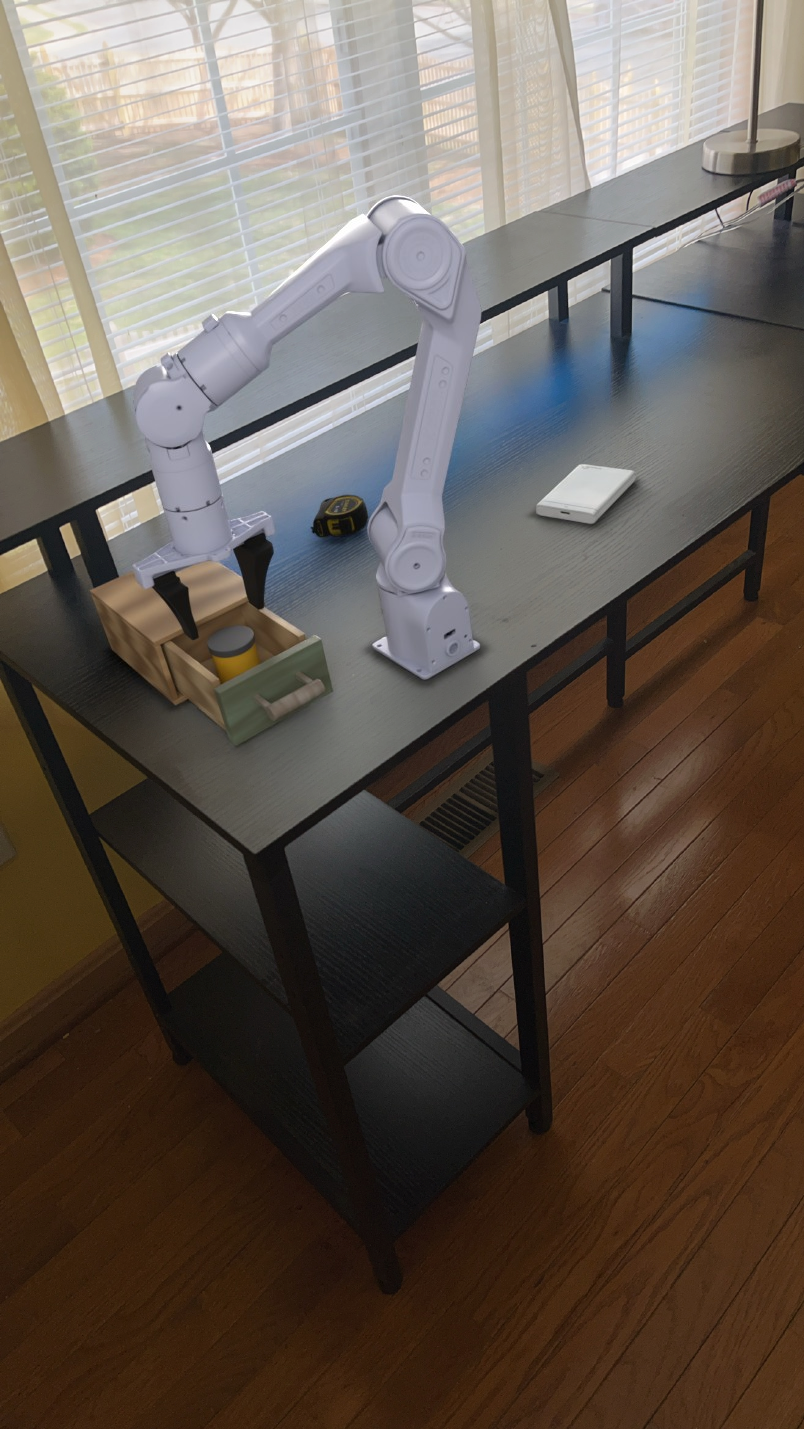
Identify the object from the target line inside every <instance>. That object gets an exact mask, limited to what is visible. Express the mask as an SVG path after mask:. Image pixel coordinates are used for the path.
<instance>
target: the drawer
mask: <svg viewBox="0 0 804 1429" xmlns="http://www.w3.org/2000/svg"><path fill="white" fill-rule="evenodd" d="M236 625H240V626H246V627H249V628H250V629H251V630H252V631H253V633H254V636H255V645H256V649H257V653H258V656H259V660H260V664H259V665H257V666H255V667H254V668H252V669H250V670H248V671H246V672H244V673H242V674H240V675H238V676H237V677H235V678H233V679H231V680H229V681H227V682H225V683H223V684H221V683H220V680H219V677H218V674H217V670H216V667H215V664H214V661H213V657H212V654H211V653H210V652H209V649H208V646H207V641H208V639H209V637H210V636H211V635H212V634H213V633H215V632H216V631H218V630H220V629H222V628H225V627H229V626H236ZM197 630H198V635H199V638H198V639H195V640H191V639H190V638H189V637H188V636H187V635H186V634H184V633H183V634H181V635H179V636H177V637H175V638H173V639H171V640H169V641H167V642H165V643H163V644H161V645H160V646H161V648H162V651H163V654H164V657H165V660H166V663H167V666H168V669H169V672H170V675H171V678H172V681H173V684H174V686H175V688H176V689H177V690H178V691H180V692H181V693H182V694H183V695H184V696H185V697H187V698H188V699H187V700H189V701H190V702H191V703H192V704H193V705H195V706H196V707H197V708H198V709H199V710H200V711H202V712H203V713H204V714H205V715H206V716H208V717H209V718H210V719H211V720H212V721H214V722H215V723H216V724H217V725H218V726H219V727H220V728H222V730H224V731H225V732H226V733H227V736H228V740H229V742H230V743H231V744H232V745H233V746H235V747H237V746H239V745H240V744H242V743H244V742H246V741H248V740H249V739H252V738H253V737H254V736H256V735H258V734H260V733H261V732H263V731H266V730H267V729H269V728H270V727H272V726H274V725H276V724H278V723H280V722H281V721H283V720H285V719H287V718H289V717H291V716H292V715H294V714H296V713H297V712H300V711H301V710H303V709H304V708H306V707H308V706H310V705H311V704H313V703H315V702H317V701H320V699H322V698H324V697H326V696H328V695H329V694H331V693H333V692H334V690H333V685H332V681H331V676H330V672H329V671H330V670H329V667H328V663H327V659H326V653H325V650H324V644H323V641H322V638H320V637H319V636H317V635H316V634H315V635H314V634H313V635H312V636H311V637H308V638H307V637H306V633H305V632H303V631H301V630H300V629H299V628H297V627H296V626H294V625H293V624H291V623H289V622H288V621H287V620H285V619H283V618H282V617H280V616H279V615H278V614H276V613H274V612H273V611H271V610H270V609H268V608H267V607H266V608H265V607H264V608H263V609H261V610H258V609H257V608H255V607H254V606H252V605H251V604H250V603H249V601H247V602H245V603H243V604H241V605H239V606H237V607H235V608H233V609H231V610H229V611H227V612H225V613H223V614H221V615H219V616H217V617H215V618H213V619H211V620H209V621H207V622H205V623H203V624H201V625H199V626H197Z"/></svg>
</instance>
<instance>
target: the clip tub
mask: <svg viewBox="0 0 804 1429" xmlns="http://www.w3.org/2000/svg"><path fill="white" fill-rule="evenodd" d="M207 646H208V649H209V652H210V653H211V654H212V657H213V661H214V664H215V667H216V670H217V674H218V677H219V680H220V683H221V684H223V683H225V682H227V681H229V680H231V679H233V678H235V677H237V676H238V675H240V674H242V673H244V672H246V671H248V670H250V669H252V668H254V667H255V666H257V665H259V664H260V660H259V656H258V653H257V649H256V645H255V636H254V633H253V631H252V630H251V629H250V628H249V627H246V626H240V625H236V626H229V627H225V628H222V629H220V630H218V631H216V632H215V633H213V634H212V635H211V636H210V637H209V639H208V641H207Z"/></svg>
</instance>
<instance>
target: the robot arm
mask: <svg viewBox="0 0 804 1429" xmlns="http://www.w3.org/2000/svg"><path fill="white" fill-rule="evenodd" d="M382 279H388V281H389V282H390V283H391V284H392V286H394V287H395V288H396V289H397V290H398V291H400V292H401V293H402V294H404V295H405V296H406V297H407V298H408V300H409V301H410V302H411V304H412V305H413V306H414V308H415V309H416V311H417V312H418V314H419V315H420V316H421V326H420V332H419V337H418V342H417V346H416V347H417V348H416V353H415V358H414V361H413V362H414V363H413V368H412V374H411V378H410V384H409V390H408V394H407V399H406V404H405V411H404V416H403V421H402V425H401V431H400V437H399V442H398V448H397V451H396V457H395V462H394V467H393V474H392V479H391V480H390V481H389V482H388V483H387V484H386V485H385V487H384V488H383V490H382V495H381V500H380V502H379V503H378V506H377V507H376V509H375V510H374V511H373V513H371V516H370V517H369V518H368V521H367V528H366V531H367V532H366V533H367V538H368V541H369V542H370V544H371V546H372V547H373V548H374V549H375V552H376V554H377V556H378V558H379V564H378V567H377V571H376V572H375V579H376V580H375V581H376V586H377V591H378V596H379V601H380V607H381V608H380V609H381V614H382V618H383V624H384V631H385V635H386V636H384V637H382V638H380V639H378V640H376V641H374V642H373V643H372V649H373V650H375V651H376V652H378V653H380V654H381V655H382V656H384V657H386V658H387V659H389V660H391V661H393V662H394V663H395V664H397V665H399V666H401V667H403V668H404V669H405V670H407V671H409V672H410V673H412V674H413V675H415V676H416V677H418V678H419V679H421V680H423V681H425V680H428V679H431V678H432V677H434V676H435V675H437V674H439V673H441V672H442V671H444V670H446V669H448V668H449V667H450V666H452V665H455V664H456V663H458V662H460V661H461V660H463V659H464V658H467V657H468V656H469V655H471V654H473V653H475V652H476V651H478V650H480V649H481V643H480V642H478V641H476V640H474V636H473V628H472V620H471V610H470V604H469V601H468V599H467V598H466V596H465V595H464V594H462V592H460V591H459V590H457V589H456V588H455V586H453V585H452V583H451V582H450V579H449V578H448V576H447V573H446V567H447V563H448V562H447V553H446V551H445V546H444V535H445V532H446V521H445V512H444V504H443V493H444V489H445V483H446V479H447V474H448V470H449V467H450V466H449V465H450V461H451V456H452V453H453V448H454V443H455V439H456V434H457V430H458V425H459V420H460V416H461V413H462V412H461V411H462V406H463V403H464V397H465V393H466V389H467V384H468V380H469V375H470V370H471V367H472V361H473V357H474V352H475V347H476V343H477V339H478V335H479V330H480V326H481V320H482V305H481V302H480V298H479V296H478V293H477V289H476V287H475V283H474V279H473V277H472V274H471V270H470V268H469V265H468V260H467V249H466V247H465V246H464V245H463V243H462V242H461V241H460V240H459V239H458V237H457V236H456V235H455V233H454V232H453V231H452V230H451V228H450V227H449V226H448V225H447V224H446V223H445V222H444V221H443V220H442V219H441V218H439V217H438V216H435V215H433V214H430V213H429V212H428V211H427V210H425V208H424V207H423V206H422V205H420V204H419V203H418V202H417V201H415V199H413V198H411V197H408V196H405V195H391V196H387V197H384V198H382V199H381V200H378V202H376V203H375V204H374V205H373V206H372V207H371V208H370V209H369V211H368V212H367V214H366V215H365V214H364V213H362V214H360V215H358V216H356V217H355V218H353V219H352V220H350V221H349V222H348V223H347V224H346V225H344V227H342V228H341V229H340V230H339V231H338V232H337V233H336V234H335V235H334V236H333V237H332V238H331V239H330V240H329V241H327V243H326V244H324V245H323V246H322V247H321V248H320V249H319V250H318V251H316V252H315V253H314V254H313V255H312V256H311V257H309V259H307V260H306V261H305V262H304V263H303V264H302V265H301V266H300V267H299V268H297V269H296V270H295V271H294V272H293V273H292V274H291V275H290V276H289V277H288V278H286V279H285V280H284V281H283V282H282V283H280V285H279V286H277V287H276V288H275V289H274V290H273V291H271V293H269V294H268V295H267V296H266V297H265V298H264V299H263V300H261V302H260V303H258V304H257V305H256V306H255V307H254V308H253V309H252V310H250V311H249V312H240V311H239V312H238V311H232V310H231V311H230V310H228V311H226V312H225V313H223V314H222V315H221V316H219V317H218V318H217V316H216V315H215V314H213V313H211V314H210V315H208V316H207V317H206V318H205V319H203V320H202V321H201V325H202V328H203V329H204V330H203V331H201V332H200V333H199V334H197V336H195V337H193V339H191V340H190V341H189V342H188V343H186V344H185V345H183V347H181V348H180V349H179V350H178V351H176V353H174V354H173V355H172V354H171V353H170V352H167V353H165V354H163V356H162V357H160V363H161V365H160V366H158V365H154V366H151V367H149V368H148V369H146V370H144V371H143V372H142V373H141V374H140V375H139V377H138V378H137V379H136V381H135V385H134V388H133V393H132V395H133V400H132V403H133V408H134V418H135V422H136V424H137V427H138V430H139V431H140V433H141V434H142V435H143V436H144V437H145V438H144V443H145V448H146V450H147V452H148V453H149V464H150V468H151V471H152V475H153V478H154V481H155V482H154V483H155V485H156V490H157V493H158V496H159V499H160V503H161V506H162V509H163V510H162V511H163V513H164V516H165V520H166V523H167V524H166V525H167V526H168V530H169V533H170V537H171V541H170V542H169V543H166V544H165V545H163V546H162V547H161V548H159V549H158V550H156V551H155V552H153V553H152V554H150V555H148V556H147V557H145V558H143V559H142V560H140V561H138V562H135V563H133V564H131V568H132V571H134V575H135V578H136V581H137V583H138V584H139V585H141V586H142V587H143V588H144V589H147V588H150V587H152V588H153V589H154V590H155V591H156V592H157V593H158V595H159V596H160V597H161V598H162V599H163V600H164V602H165V603H166V604H167V605H168V607H169V608H170V609H171V611H172V612H173V614H174V615H175V617H176V618H177V620H178V622H179V623H180V625H181V627H182V629H183V631H184V634H186V635H187V636H188V637H189V638H190V639H191V640H195V639H198V638H199V635H198V630H197V627H196V624H195V621H194V618H193V615H192V611H191V606H190V600H189V588H188V587H187V586H186V585H184V584H183V583H182V582H181V580H180V577H178V576H176V572H179V571H181V570H183V569H186V568H188V567H190V566H193V565H195V564H198V563H202V562H206V561H212V562H219V563H220V562H221V561H224V560H226V559H229V558H230V557H232V555H233V554H232V551H233V553H234V556H235V559H236V562H237V565H238V567H239V570H240V573H241V577H242V578H243V582H244V587H245V591H246V595H247V598H248V601H249V603H250V604H251V605H252V606H254V607H255V608H257V609H258V610H261V609H263V608H264V602H265V591H266V590H265V589H266V582H267V581H266V580H267V574H268V572H269V571H268V570H269V567H270V564H271V562H272V559H273V556H274V554H275V550H274V549H275V548H274V545H273V543H272V541H270V540H269V539H267V538H268V537H271V536H274V535H275V534H276V528H275V524H274V519H273V516H272V515H270V514H268V513H267V512H265V511H263V510H260V511H258V512H256V513H253V514H249V515H246V516H242V517H238V518H233V519H229V515H228V511H227V507H226V504H225V499H224V498H225V497H224V495H223V491H222V488H221V484H220V480H219V475H218V471H217V468H216V462H215V459H214V458H215V457H214V454H213V451H212V448H211V445H210V444H209V443H208V441H207V439H206V436H205V432H204V424H205V418H206V415H207V414H209V413H211V412H214V411H216V410H217V409H219V407H221V406H222V405H223V404H225V403H226V402H227V401H228V400H229V399H231V398H232V397H234V395H236V394H237V393H238V392H239V391H241V390H242V389H244V388H245V387H246V386H248V384H250V383H251V382H252V381H254V380H255V379H256V378H258V377H259V376H260V375H261V374H262V373H263V372H264V371H266V370H267V369H269V367H270V363H271V356H272V349H273V347H274V345H275V344H277V343H278V342H280V341H281V340H282V339H284V338H285V337H286V336H288V335H289V334H291V333H292V332H293V331H295V330H296V329H298V328H299V327H300V326H302V325H303V324H305V323H306V322H307V321H309V320H310V319H311V318H312V317H314V316H316V315H317V314H319V313H320V312H321V311H322V310H324V309H325V308H326V307H328V306H329V305H331V304H332V303H333V302H335V301H336V300H338V299H339V298H341V297H342V296H343V295H345V294H348V293H359V294H385V288H384V285H383V281H382Z"/></svg>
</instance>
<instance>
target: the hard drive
mask: <svg viewBox="0 0 804 1429" xmlns="http://www.w3.org/2000/svg"><path fill="white" fill-rule="evenodd" d="M635 481H636V471H634V470H632V469H631V470H630V469H624V468H616V467H615V468H614V467H609V466H601V465H592V464H585V463H580V464H578V465H577V466H576V467H575V468H574V469H573V470H571V472H570V473H569V474H568V475H567V476H566V477H565V478H563V479H562V480H561V481H560V482H559V483H558V484H557V485H556V486H555V487H554V488H553V489H552V490H551V491H550V492H548V494H546V495H545V496H544V497H543V498H542V499H541V500H540V501H539V502H538V503H537V504H536V505H535V511H536V512H535V513H536V514H537V515H539V516H542V517H548V518H554V519H560V520H565V521H566V520H567V521H573V522H579V523H583V524H589V525H593V524H595V523H596V522H597V521H598V519H600V518H601V517H602V516H603V515H604V514H605V513H606V512H607V511H608V509H609V508H610V507H611V506H612V505H613V504H614V503H615V502H616V501H617V500H619V498H620V497H621V496H622V495H623V494H624V493H625V492H626V491H627V490H628V488H630V487H631V486H632V484H633V483H634V482H635Z"/></svg>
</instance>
